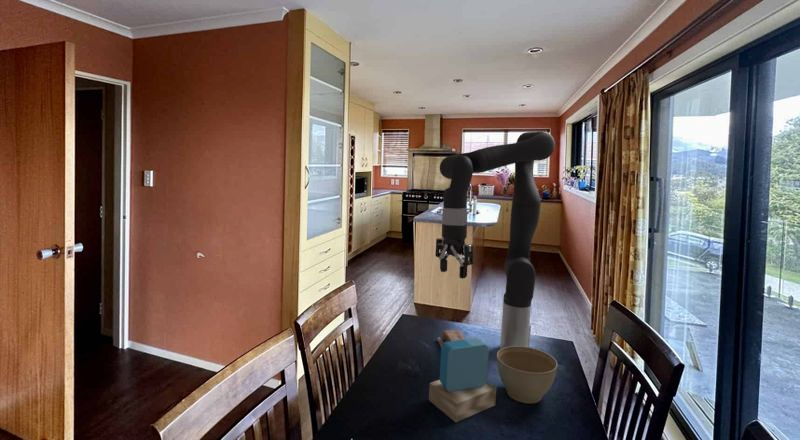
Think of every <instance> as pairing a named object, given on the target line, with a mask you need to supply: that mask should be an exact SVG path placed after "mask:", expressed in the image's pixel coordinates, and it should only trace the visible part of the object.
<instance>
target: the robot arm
mask: <svg viewBox="0 0 800 440" xmlns="http://www.w3.org/2000/svg"><path fill="white" fill-rule="evenodd" d="M555 147H556V143H555V139H554V137H553V136H552V134H551V133H548V132H546V131H528V132H523V133H521V134H520V135H519V136H518V137H517V139H516V142H513V143H507V144H499V145H498V144H497V145H492V146H487V147H484V148H480V149H479V148H478V149H476V150H475V149H474V151H469V152H462V153H457V154H451V155H449V156H446V157H444V158H443V159H442V160H441V161H440V164H439V171H440V174H441V175H442V177H444V178H445V179H449V180H450V184H449V187H448V188H445V189H444V191H443V199H442V200H443V201H442V205H443V206H442V214H441V215H442V216H441V237H440V238H439V237H438V238H436V239H435V241H436V243H435V257H436V258H438V259H439V268H440V269H439V270H440V272H441V273H446V272H447V271H448V257H450V256H452V257H455V259H456V261H457V262H458V263H459V279H465V278H467V276H468V266H471V265H474V245H473V244H466V239H467V236H468V207H467V206H468V192H469V189H470V185H471V183H472V179H473V174H481V173H485V172H489V171H492V170H496V169H499V168H503V167H505V166H509V165H513V164H514V179H513V180H514V183H513V194H512V202H511V209H510V219H509V220H510V223H509V244H508V249H507V252H506V257H505V260H504V267H503V269H504V274H505V277H506V282H505V292H504V294H503V298H502V299H503V302H502V313H501V314H502V315H501V331H500V342H499V343H500V344H499V350H500V349H502V348H505V347H510V346H523V347H530V342H531V329H532V325H531V324H530V323H531V322H530V321H531V309H532V308H531V307H532V301H533V298H534V293H535V285H536V284H535V283H536V269H535V267H534V265H533V264H532V263H531V246H532V242H533V238H534V235H535V233H536V231H537V228H538V224H539V220H540V213H541V206H542V205H541V204H542V201H541V200H542V199H541V195H540V193H539V190H538V187H537V184H536V182H535V178H534V166H535V165H534V164H535V161H543V160H546V159H548V158H550V157H551V156H552V154H553V153H554V152H555V151H554V150H555Z"/></svg>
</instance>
